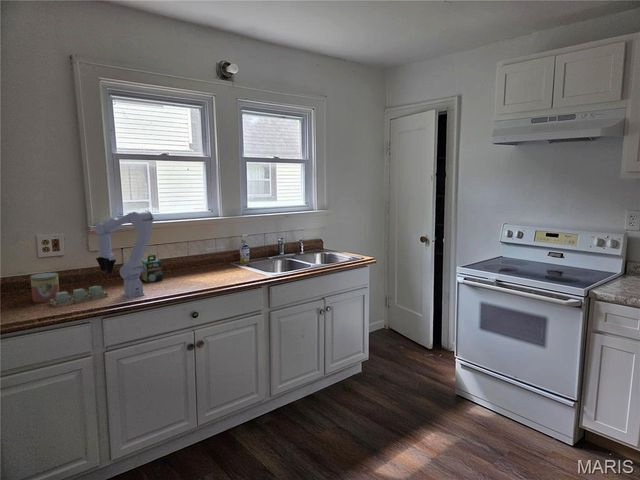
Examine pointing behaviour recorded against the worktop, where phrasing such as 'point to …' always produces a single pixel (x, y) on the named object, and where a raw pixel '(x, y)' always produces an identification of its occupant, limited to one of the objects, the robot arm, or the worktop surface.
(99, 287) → the loose block
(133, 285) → the robot arm
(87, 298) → the rack
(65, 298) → the seated block
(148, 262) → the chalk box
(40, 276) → the canned food
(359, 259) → the worktop surface
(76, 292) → the seated block
